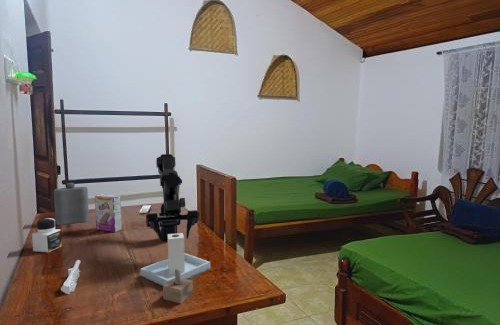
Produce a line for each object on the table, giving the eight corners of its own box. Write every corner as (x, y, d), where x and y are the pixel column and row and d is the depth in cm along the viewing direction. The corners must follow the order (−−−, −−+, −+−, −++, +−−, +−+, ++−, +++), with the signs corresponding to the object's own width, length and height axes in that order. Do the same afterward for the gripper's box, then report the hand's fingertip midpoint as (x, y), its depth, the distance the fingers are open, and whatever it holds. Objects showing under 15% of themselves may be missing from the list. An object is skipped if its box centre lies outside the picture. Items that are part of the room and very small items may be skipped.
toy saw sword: (85, 264, 119) (74, 294, 98) (73, 266, 118) (59, 296, 97) (85, 257, 118) (74, 285, 98) (72, 259, 117) (58, 287, 96)
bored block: (168, 268, 114) (167, 234, 113) (183, 266, 115) (182, 232, 114) (169, 274, 109) (168, 238, 108) (184, 272, 111) (184, 237, 109)
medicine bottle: (48, 252, 129) (46, 222, 128) (32, 251, 131) (30, 221, 129) (62, 246, 136) (60, 217, 135) (47, 245, 137) (45, 216, 136)
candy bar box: (95, 230, 157) (93, 195, 155) (103, 227, 162) (101, 193, 160) (114, 232, 153) (113, 197, 152) (122, 229, 158) (121, 195, 156)
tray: (183, 258, 124) (183, 252, 123) (210, 269, 115) (210, 262, 115) (140, 275, 110) (140, 268, 109) (167, 288, 101) (167, 280, 101)
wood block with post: (175, 289, 100) (175, 264, 100) (192, 293, 98) (192, 267, 97) (163, 299, 95) (162, 272, 94) (181, 303, 93) (180, 276, 92)
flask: (88, 218, 176) (86, 181, 174) (89, 221, 171) (87, 183, 169) (55, 223, 168) (53, 183, 166) (55, 226, 163) (53, 185, 161)
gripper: (145, 191, 118) (146, 231, 109) (198, 189, 124) (203, 227, 115) (146, 207, 127) (146, 246, 118) (195, 204, 132) (199, 241, 123)
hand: (174, 239), depth 118 cm, fingers open, 9 cm apart
